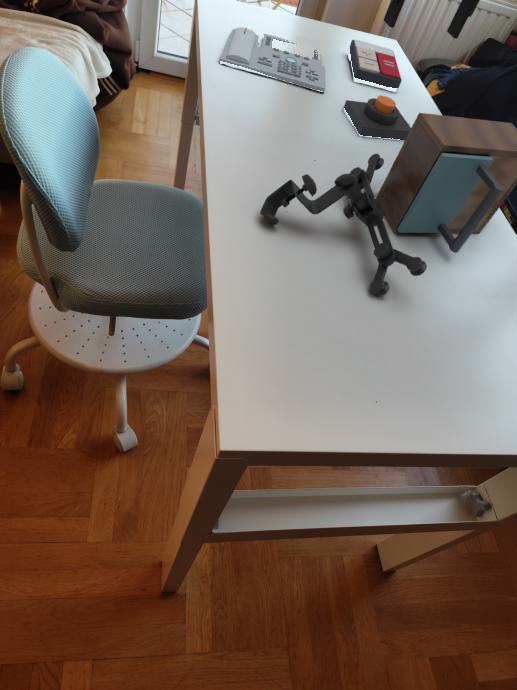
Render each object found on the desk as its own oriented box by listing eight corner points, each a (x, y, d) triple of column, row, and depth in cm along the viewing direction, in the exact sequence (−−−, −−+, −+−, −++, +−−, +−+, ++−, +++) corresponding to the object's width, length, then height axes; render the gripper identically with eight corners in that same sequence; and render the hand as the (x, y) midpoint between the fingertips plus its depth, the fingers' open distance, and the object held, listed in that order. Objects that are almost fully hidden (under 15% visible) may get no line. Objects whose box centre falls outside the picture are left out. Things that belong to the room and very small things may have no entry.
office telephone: (220, 52, 100) (232, 17, 113) (218, 65, 102) (230, 29, 115) (327, 82, 103) (328, 45, 115) (323, 94, 105) (324, 56, 117)
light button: (387, 104, 101) (391, 96, 100) (395, 115, 99) (398, 107, 98) (370, 103, 100) (374, 94, 98) (378, 113, 98) (381, 105, 96)
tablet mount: (328, 326, 74) (429, 270, 66) (268, 280, 65) (377, 208, 57) (303, 212, 90) (382, 156, 82) (253, 162, 81) (336, 93, 72)
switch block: (390, 115, 107) (398, 97, 104) (409, 141, 101) (418, 123, 98) (342, 110, 103) (349, 91, 100) (359, 137, 98) (367, 118, 94)
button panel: (359, 66, 110) (353, 35, 118) (351, 84, 113) (346, 53, 122) (403, 78, 112) (394, 47, 120) (395, 96, 115) (387, 64, 124)
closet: (457, 203, 91) (511, 122, 79) (479, 233, 86) (540, 153, 74) (374, 200, 85) (419, 112, 73) (393, 232, 80) (444, 145, 68)
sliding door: (441, 230, 83) (491, 156, 72) (459, 257, 79) (514, 184, 68) (396, 229, 80) (441, 152, 69) (413, 257, 76) (463, 181, 65)
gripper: (544, -120, 75) (466, 30, 92) (410, -165, 67) (351, 9, 83) (573, -105, 71) (486, 49, 88) (435, -151, 63) (368, 29, 79)
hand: (420, 29), depth 85 cm, fingers open, 13 cm apart
